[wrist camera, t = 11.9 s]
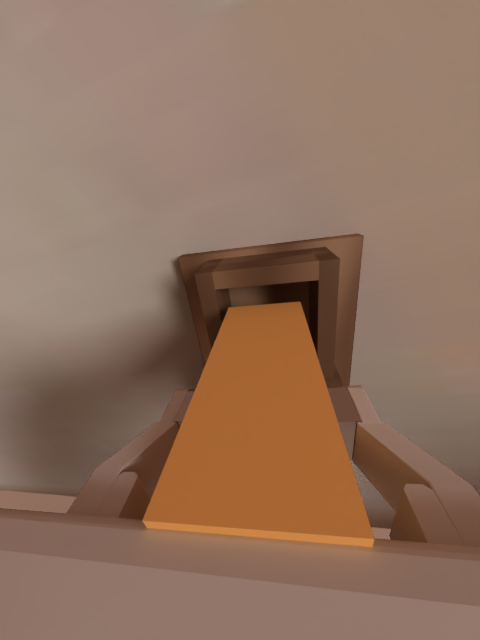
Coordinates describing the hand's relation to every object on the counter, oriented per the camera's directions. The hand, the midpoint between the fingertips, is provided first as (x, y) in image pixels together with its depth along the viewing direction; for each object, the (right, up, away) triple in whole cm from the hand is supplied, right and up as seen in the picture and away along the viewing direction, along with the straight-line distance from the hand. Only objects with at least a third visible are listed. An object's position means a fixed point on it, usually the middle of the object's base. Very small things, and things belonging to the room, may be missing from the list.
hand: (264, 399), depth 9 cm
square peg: (+1, +2, +5) cm, 5 cm away
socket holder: (+2, +2, +10) cm, 10 cm away
